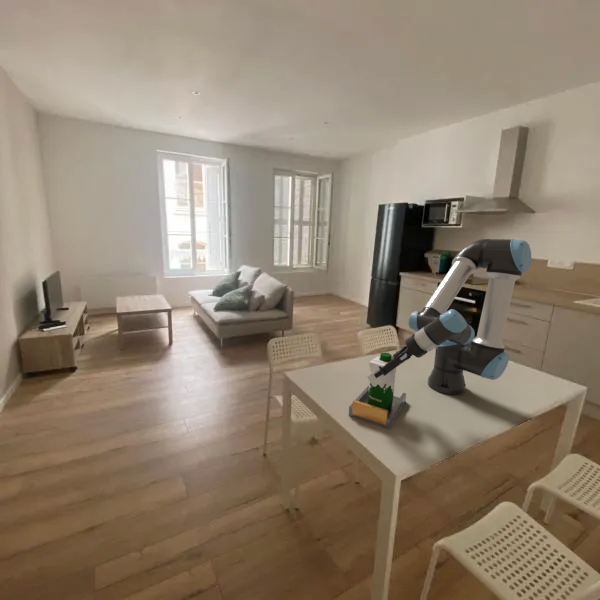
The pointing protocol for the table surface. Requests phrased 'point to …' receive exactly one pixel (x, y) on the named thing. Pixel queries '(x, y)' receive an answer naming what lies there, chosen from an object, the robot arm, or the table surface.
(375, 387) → the soya milk
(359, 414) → the rail channel
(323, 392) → the table surface
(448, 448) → the table surface
